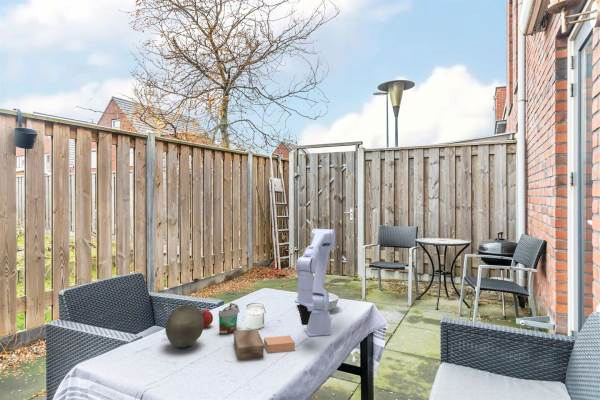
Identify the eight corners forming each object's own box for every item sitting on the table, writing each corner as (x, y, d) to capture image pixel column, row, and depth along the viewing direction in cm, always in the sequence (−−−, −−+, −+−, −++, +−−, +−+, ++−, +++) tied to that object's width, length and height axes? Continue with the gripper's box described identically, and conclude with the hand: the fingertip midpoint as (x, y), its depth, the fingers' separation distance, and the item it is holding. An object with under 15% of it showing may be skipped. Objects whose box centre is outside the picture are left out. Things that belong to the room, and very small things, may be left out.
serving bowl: (340, 316, 172) (340, 302, 172) (296, 315, 172) (296, 301, 172) (336, 304, 193) (336, 291, 193) (297, 303, 193) (297, 290, 193)
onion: (205, 330, 150) (205, 311, 150) (195, 327, 153) (196, 309, 153) (215, 326, 155) (216, 308, 155) (206, 324, 158) (206, 305, 158)
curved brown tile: (256, 341, 140) (257, 329, 140) (264, 359, 125) (264, 345, 125) (233, 343, 138) (233, 330, 138) (238, 361, 122) (238, 347, 122)
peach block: (289, 343, 139) (289, 335, 139) (294, 350, 132) (294, 342, 132) (264, 345, 136) (264, 337, 136) (267, 353, 130) (267, 344, 130)
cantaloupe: (155, 350, 130) (156, 308, 130) (182, 337, 143) (182, 299, 143) (187, 357, 124) (188, 314, 124) (212, 343, 138) (212, 303, 138)
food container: (232, 337, 143) (232, 312, 143) (217, 336, 145) (218, 311, 145) (243, 327, 156) (243, 303, 156) (229, 325, 157) (230, 302, 157)
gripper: (290, 284, 143) (289, 319, 143) (300, 294, 129) (299, 332, 129) (307, 283, 145) (306, 317, 145) (319, 293, 131) (318, 330, 131)
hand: (304, 324), depth 137 cm, fingers closed
